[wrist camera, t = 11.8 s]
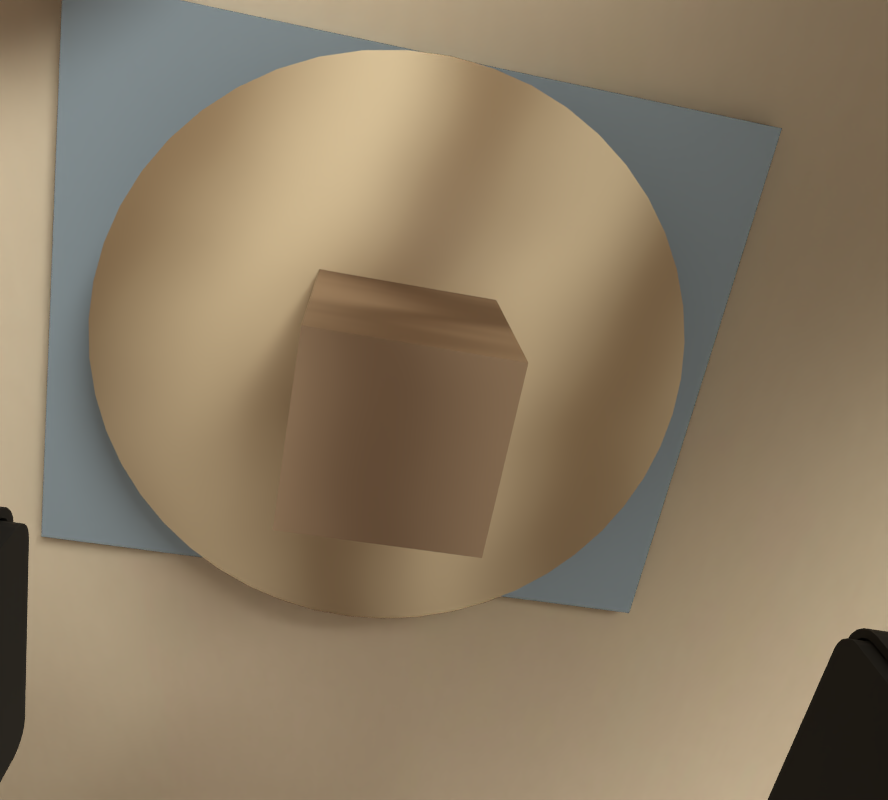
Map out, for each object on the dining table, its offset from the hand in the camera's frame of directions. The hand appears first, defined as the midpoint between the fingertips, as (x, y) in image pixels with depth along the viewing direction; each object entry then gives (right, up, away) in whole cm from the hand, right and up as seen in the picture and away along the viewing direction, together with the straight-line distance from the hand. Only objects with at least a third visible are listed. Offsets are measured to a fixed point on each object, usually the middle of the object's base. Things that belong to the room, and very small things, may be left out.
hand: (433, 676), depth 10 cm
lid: (-1, +5, +14) cm, 15 cm away
